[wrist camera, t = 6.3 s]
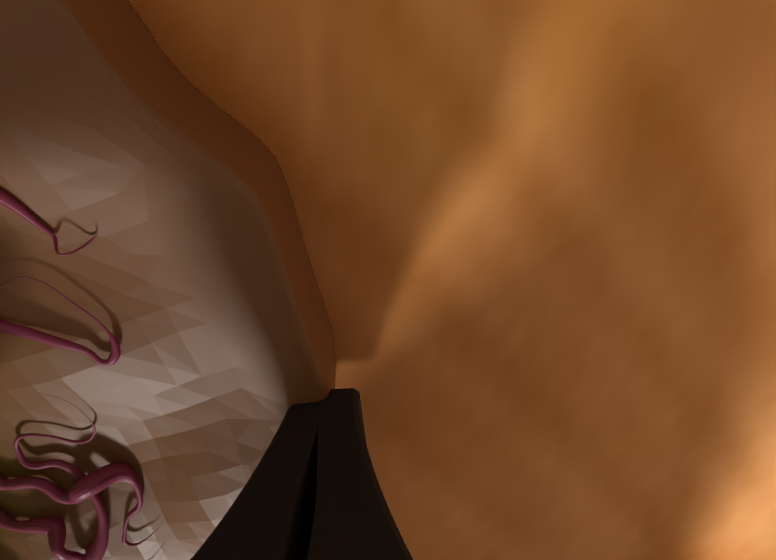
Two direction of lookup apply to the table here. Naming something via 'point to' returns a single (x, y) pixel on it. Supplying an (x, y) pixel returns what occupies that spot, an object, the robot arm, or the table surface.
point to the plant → (136, 294)
